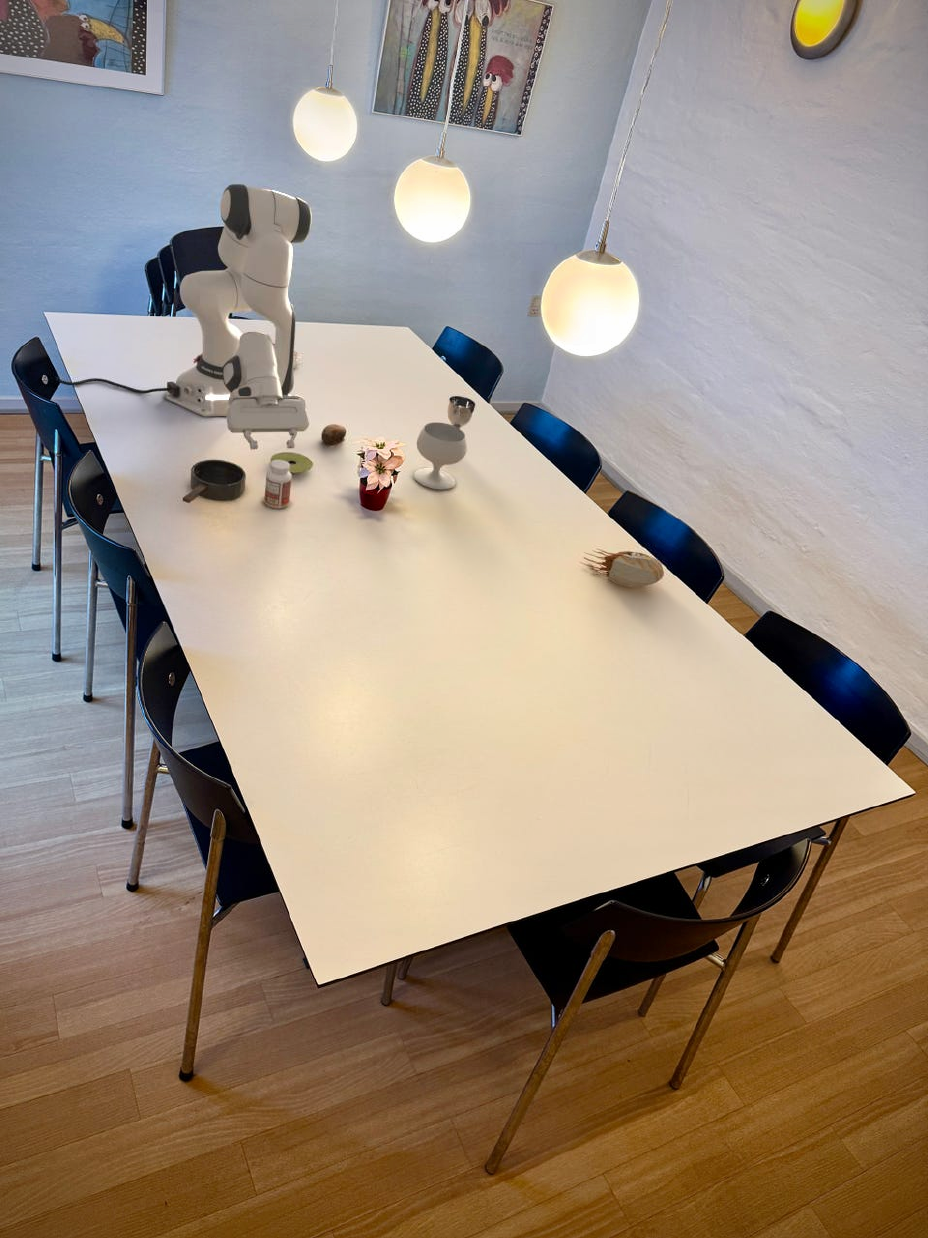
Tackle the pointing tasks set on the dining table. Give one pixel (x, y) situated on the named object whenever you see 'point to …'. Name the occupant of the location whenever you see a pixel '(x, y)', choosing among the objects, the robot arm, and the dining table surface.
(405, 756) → the dining table surface
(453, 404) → the wine glass
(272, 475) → the pill bottle
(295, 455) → the green disc
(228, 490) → the pan
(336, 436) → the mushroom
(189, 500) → the pan handle
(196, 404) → the robot arm
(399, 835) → the dining table surface
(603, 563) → the nautilus
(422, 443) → the chalice
